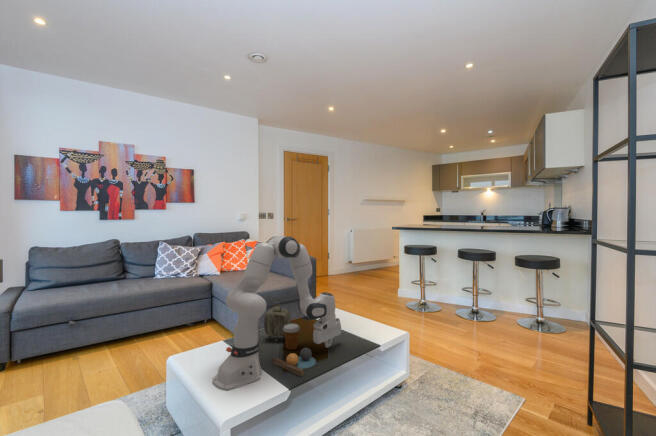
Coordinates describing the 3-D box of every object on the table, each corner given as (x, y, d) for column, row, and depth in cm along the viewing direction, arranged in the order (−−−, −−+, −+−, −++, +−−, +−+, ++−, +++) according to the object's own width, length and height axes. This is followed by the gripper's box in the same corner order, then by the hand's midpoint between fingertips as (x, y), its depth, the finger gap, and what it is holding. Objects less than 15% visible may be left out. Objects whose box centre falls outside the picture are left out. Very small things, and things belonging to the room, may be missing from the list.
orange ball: (294, 370, 152) (289, 359, 151) (286, 367, 156) (282, 357, 155) (302, 361, 156) (298, 351, 155) (295, 359, 161) (290, 349, 160)
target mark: (301, 371, 149) (301, 371, 149) (282, 363, 159) (282, 362, 159) (321, 361, 160) (321, 361, 160) (302, 353, 169) (302, 353, 169)
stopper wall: (300, 376, 145) (300, 371, 145) (273, 363, 158) (273, 358, 158) (303, 375, 146) (303, 369, 146) (276, 362, 160) (276, 357, 160)
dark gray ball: (307, 348, 159) (315, 351, 163) (300, 344, 164) (308, 347, 167) (303, 360, 157) (311, 363, 161) (295, 356, 162) (303, 359, 165)
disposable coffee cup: (279, 348, 176) (279, 327, 176) (289, 342, 184) (289, 322, 184) (293, 352, 172) (293, 330, 172) (303, 345, 180) (302, 324, 180)
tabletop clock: (290, 337, 192) (290, 297, 192) (287, 343, 183) (286, 301, 183) (267, 337, 193) (267, 296, 193) (263, 343, 184) (262, 300, 184)
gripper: (335, 316, 184) (335, 339, 184) (311, 325, 169) (311, 351, 169) (343, 318, 180) (344, 342, 180) (319, 328, 165) (319, 354, 165)
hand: (328, 346), depth 174 cm, fingers closed
